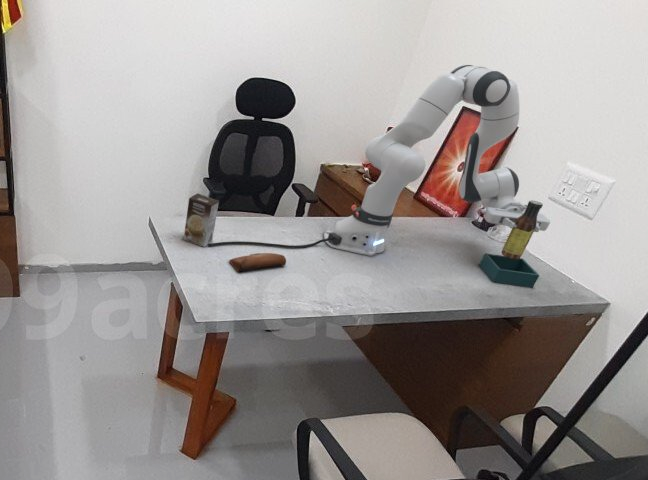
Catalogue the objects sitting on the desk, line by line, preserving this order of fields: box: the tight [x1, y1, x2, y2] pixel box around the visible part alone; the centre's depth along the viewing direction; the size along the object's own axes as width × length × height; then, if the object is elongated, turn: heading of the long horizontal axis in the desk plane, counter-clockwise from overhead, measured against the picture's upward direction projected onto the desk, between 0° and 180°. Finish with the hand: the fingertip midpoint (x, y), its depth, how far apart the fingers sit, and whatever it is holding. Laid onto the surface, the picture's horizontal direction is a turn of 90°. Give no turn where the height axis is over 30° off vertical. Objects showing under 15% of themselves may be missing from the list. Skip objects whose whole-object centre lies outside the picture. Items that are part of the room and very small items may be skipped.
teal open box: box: [478, 252, 540, 289], centre depth 184 cm, size 14×13×5 cm
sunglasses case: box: [229, 252, 287, 273], centre depth 174 cm, size 18×7×7 cm, turn 113°
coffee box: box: [183, 193, 220, 248], centre depth 182 cm, size 9×6×16 cm
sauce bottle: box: [501, 199, 544, 259], centre depth 176 cm, size 7×6×20 cm
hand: (525, 228), depth 175 cm, fingers closed on sauce bottle, 6 cm apart
